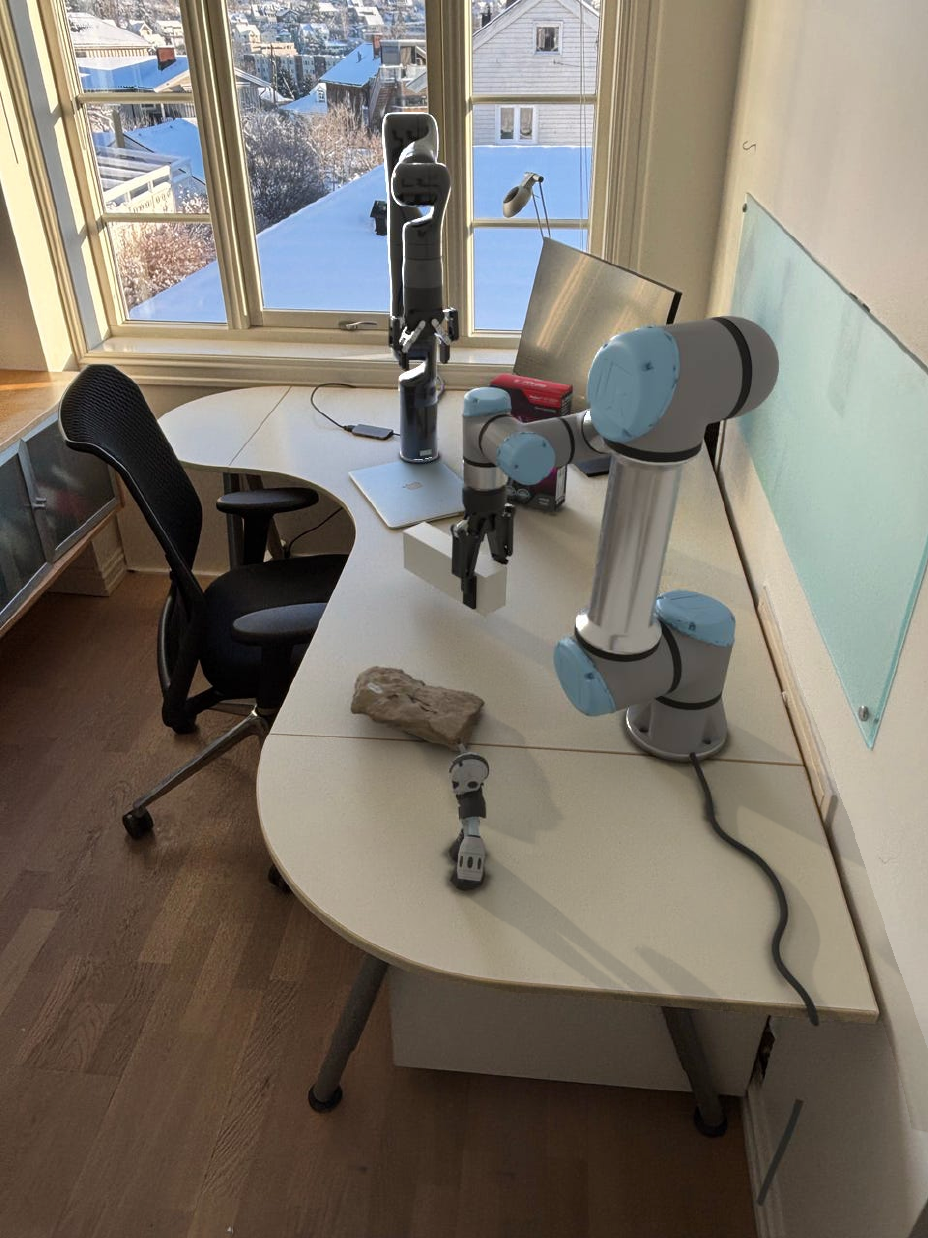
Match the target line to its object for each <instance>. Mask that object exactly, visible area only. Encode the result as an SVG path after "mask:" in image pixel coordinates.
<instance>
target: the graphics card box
mask: <svg viewBox="0 0 928 1238" xmlns="http://www.w3.org/2000/svg"><path fill="white" fill-rule="evenodd" d="M489 387H492V388H498V389H502V390H504V391H506V392H507V393H508V394H509V396H510V400H511V407H512V409H511V413H510V414H511V415H512V416H513V417H514V418H516V419H517V420H519V421H520V422H521V423H529V422H534V421H540V420H545V419H551V418H556V417H563V416H567V415H572V407H573V405H572V403H573V392H574V387H573V384H566V383H565V384H563V383H559V382H553V381H547V380H543V379H537V378H532V377H527V376H521V375H515V374H510V373H505V372H501V373H500V374H498V375H497V376H496V377H494V378H493V379H492V381H491V382H490V383H489ZM567 479H568V465H566V466H561V467H556V468H553V469H552V470H551V472H550V474H549V475H548V476H547V477H545V478H543V479H542V480H541V481H540V482H539V483H537V484H533V485H524V484H521V483H519V482H517V481H516V480H514V479H512V478H511V477H508V481H507V502H510V503H515V504H519V505H522V506H527V507H531V508H534V509H538V510H539V509H540V510H543V511H548V512H552V513H555V512H556V511H557V510H558V509H559V508H560V507H561V506H562V505H563V504H564V503H565V502H566V493H567V482H568V481H567Z"/></svg>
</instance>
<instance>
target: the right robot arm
mask: <svg viewBox="0 0 928 1238" xmlns="http://www.w3.org/2000/svg"><path fill="white" fill-rule="evenodd" d="M779 372H780V359H779V354H778V349H777V347H776V344H775V342H774V340H773V338H772V337H771V335H770V334H769V332H767V330H765V328H763V327H761V325H760V324H757V323H756V322H754V321H753V320H750V319H748V318H744V317H741V316H733V315H721V316H714V317H710V318H703V319H698V320H689V321H683V322H675V323H670V324H669V323H668V324H662V325H655V324H653V325H652V324H651V325H645V326H639V327H637V328H635V329H634V330H629V331H624V332H620V333H618V334H616V335H614V336H612V337H611V338H610V339H609V340H608V341H606V342H605V343H604V344H603V345H601V347H600V349H599V350H598V351H597V353H596V355H595V356H594V358H593V360H592V363H591V366H590V369H589V372H588V376H587V383H586V403H587V404H588V405H590V408H588V409H586V410H583V411H581V412H576V413H573V414H572V413H571V415H567V416H563V417H556V418H551V419H545V420H540V421H534V422H529V423H521V422H520V421H519V420H517V419H516V418H514V417H513V416H512V415H511V414H510V413H511V409H512V407H511V400H510V396H509V394H508V393H507V392H506V391H504V390H502V389H498V388H492V387H490V386H483V387H477V388H473V389H470V390H469V391H468V392H466V393H465V395H464V397H463V407H462V414H461V418H462V473H461V475H462V476H461V477H462V481H463V482H462V483H461V501H462V505H463V508H464V513H463V516H462V521H460V523H458V524H457V525H456V524H455V523H453V524H451V525H450V527H449V530H450V535H451V537H452V569H451V573H452V574H453V575H455V576H456V577H458V578H460V579H461V591H462V592H463V605H464V606H466V607H467V606H468V607H467V608H469V609H471V610H472V609H473V611H474V609H476V596H477V577H476V576H474V571H475V567H476V562H477V558H478V554H479V552H480V549H481V544H482V543H483V542H484V541H485V537H486V539H487V542H488V543H487V544H488V548H489V552H490V558H491V559H493V560H495V561H497V562H499V563H500V564H502V565H504V566H507V565H508V564H509V562H510V560H509V559H507V558H508V557H509V558H510V557H512V556H513V555H514V528H515V527H514V525H515V523H514V522H515V520H514V519H515V516H516V511H517V507H516V506H515V505H513V504H512V503H509V502H508V501H507V481H508V477H511V478H512V479H514V480H516V481H517V482H519V483H521V484H524V485H533V484H537V483H539V482H540V481H541V480H542V479H543V478H545V477H547V476H548V475H549V474H550V472H551V470H552V469H553V468H556V467H561V466H566V465H567V466H568V465H573V464H578V463H584V462H589V461H595V460H603V459H607V458H610V465H609V472H608V479H607V483H606V493H605V497H604V498H605V499H604V503H603V504H604V505H603V511H602V518H601V525H600V532H599V539H598V544H597V545H598V546H597V552H596V557H595V566H594V573H593V579H592V585H591V591H590V592H591V593H590V597H589V598H590V599H589V604H587V605H586V606H584V607H582V608H581V609H580V610H579V611H578V613H577V615H576V618H575V623H574V629H573V634H572V635H571V636H570V637H569V636H566V637H563V638H562V639H561V640H558V641H557V642H556V643H555V645H554V648H553V664H554V670H555V673H556V676H557V679H558V682H559V684H560V686H561V689H562V690H563V692H564V694H565V696H566V697H567V700H568V701H569V702H570V703H571V705H572V706H573V707H574V708H575V709H576V710H577V711H578V712H580V713H581V714H582V715H584V716H587V717H594V718H596V717H600V716H603V715H608V714H611V715H612V714H615V713H616V712H618V711H622V710H624V709H627V711H626V719H625V728H626V732H627V734H628V736H629V738H630V739H631V741H632V742H634V744H636V745H637V746H638V747H639V748H640V749H641V750H643V751H645V752H646V753H648V754H650V755H651V756H654V757H656V758H659V759H662V760H666V761H670V762H675V763H692V765H693V768H694V770H695V773H696V775H697V778H698V781H699V784H701V788H702V790H703V794H704V796H705V804H706V812H707V817H708V821H709V823H710V825H711V827H712V829H713V830H714V831H715V833H716V834H717V835H718V836H719V837H720V838H721V839H722V840H723V841H724V842H726V843H727V844H728V845H730V846H732V847H733V848H735V849H737V850H738V851H740V852H741V853H743V854H745V855H746V856H747V857H749V858H750V859H752V860H753V861H754V862H755V863H756V864H757V865H758V866H759V867H760V869H762V870H763V872H764V873H765V874H766V876H767V877H768V878H769V880H770V882H771V884H772V885H773V887H774V890H775V892H776V896H777V898H778V902H779V906H780V908H779V909H780V917H779V921H778V923H777V927H776V929H775V931H774V933H773V937H772V941H771V955H772V959H773V961H774V964H775V966H776V968H777V970H778V971H779V973H780V974H781V975H782V977H783V978H784V979H785V980H786V981H787V982H788V984H789V985H790V986H791V987H792V988H793V989H794V990H795V991H796V993H797V994H798V995H799V997H800V998H801V999H802V1001H803V1003H804V1005H805V1007H806V1010H807V1012H808V1016H809V1021H810V1024H811V1025H812V1026H814V1027H816V1028H817V1027H819V1026H820V1021H819V1016H818V1012H817V1009H816V1006H815V1004H814V1002H813V1000H812V997H811V996H810V995H809V993H808V991H807V990H806V989H805V988H804V987H803V985H802V984H801V983H800V982H799V981H798V980H797V978H796V977H795V976H794V975H793V974H792V973H791V972H790V971H789V970H788V968H787V967H786V965H785V963H784V962H783V959H782V957H781V951H780V947H781V940H782V937H783V934H784V932H785V929H786V927H787V924H788V920H789V907H788V902H787V897H786V894H785V892H784V889H783V886H782V884H781V882H780V880H779V879H778V877H777V875H776V874H775V872H774V871H773V870H772V868H771V867H770V866H769V864H768V863H767V862H766V861H765V860H764V859H763V858H762V857H761V856H760V855H759V854H758V853H756V852H755V851H754V850H752V849H750V847H748V846H746V845H744V844H742V843H741V842H739V841H738V840H736V839H734V838H733V837H732V836H731V835H729V834H728V833H727V832H726V831H724V830H723V829H722V827H721V826H720V825H719V822H718V821H717V818H716V816H715V810H714V802H713V796H712V792H711V790H710V787H709V784H708V782H707V780H706V777H705V774H704V772H703V770H702V767H701V765H700V763H699V762H700V761H703V760H706V759H709V758H711V757H714V755H716V754H718V752H720V751H721V750H722V748H723V747H724V744H725V743H726V740H727V739H726V738H727V733H728V721H727V716H726V712H725V708H724V707H725V706H724V701H723V692H724V686H725V682H726V678H727V674H728V669H729V664H730V661H731V655H732V652H733V647H734V644H735V642H736V637H735V632H736V627H737V626H736V625H737V624H736V617H735V615H734V614H733V612H732V610H731V609H730V608H729V607H728V606H727V605H726V604H724V603H723V602H722V601H720V600H719V599H717V598H715V597H712V596H710V595H708V594H705V593H702V592H698V591H695V590H688V589H673V590H668V591H665V592H662V593H661V594H659V591H660V585H661V581H662V576H663V571H664V566H665V561H666V557H667V551H668V547H669V541H670V537H671V532H672V527H673V522H674V517H675V514H676V513H675V512H676V506H677V502H678V497H679V493H680V489H681V482H682V477H683V473H684V467H685V464H687V463H689V462H691V461H692V460H694V459H696V458H698V456H699V455H700V453H701V452H702V446H703V442H704V438H705V434H706V429H707V426H708V425H710V424H715V423H719V422H722V421H727V420H732V419H734V418H735V419H736V418H739V417H742V416H744V415H746V414H748V413H751V412H753V411H754V410H756V409H757V408H759V407H760V406H761V405H762V404H763V403H764V402H765V401H766V400H767V399H768V397H769V396H770V395H771V393H772V392H773V390H774V388H775V386H776V384H777V381H778V376H779ZM804 1102H805V1101H804V1100H802V1099H798V1098H795V1100H794V1104H793V1106H792V1110H791V1112H790V1116H789V1118H788V1122H787V1124H786V1127H785V1129H784V1131H783V1135H782V1137H781V1139H780V1142H779V1144H778V1146H777V1148H776V1151H775V1153H774V1156H773V1158H772V1161H771V1163H770V1165H769V1168H768V1170H767V1172H766V1175H765V1177H764V1180H763V1182H762V1185H761V1188H760V1190H759V1193H758V1196H757V1198H756V1204H757V1205H758V1206H759V1207H762V1206H764V1203H765V1201H766V1198H767V1195H768V1192H769V1190H770V1188H771V1185H772V1182H773V1180H774V1178H775V1175H776V1173H777V1172H778V1171H777V1170H778V1169H779V1166H780V1164H781V1162H782V1159H783V1157H784V1155H785V1153H786V1150H787V1148H788V1146H789V1144H790V1141H791V1139H792V1136H793V1133H794V1131H795V1128H796V1126H797V1123H798V1120H799V1118H800V1114H801V1111H802V1108H803V1105H804Z"/></svg>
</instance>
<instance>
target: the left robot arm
mask: <svg viewBox="0 0 928 1238" xmlns="http://www.w3.org/2000/svg"><path fill="white" fill-rule="evenodd" d="M382 148H383V159H384V170H385V182H386V183H385V184H386V193H387V195H386V196H387V246H388V247H387V248H388V264H389V278H390V316H389V317H388V333H387V334H388V337H387V338H388V339H387V341H388V342H387V346H388V347H389V348H390V351H391V355H392V357H393V359H394V360H395V361H398V366H399V367H400V368H401V370H403V371H404V372H403V373H402V374H400V376H399V377H398V403H399V404H398V409H399V411H398V412H399V436H400V437H399V439H400V440H399V443H400V444H399V445H400V453H399V454H400V458H401V459H402V460H404V461H406V462H410V463H414V464H415V463H416V464H423V463H430V462H432V461H435V460H436V459H438V457H439V442H438V441H439V424H438V423H439V419H438V418H439V415H438V414H439V413H438V408H439V407H438V404H439V403H438V400H439V399H440V398H441V396H442V395H443V393H444V391H445V380H444V379H443V377H442V376H441V375H440V374H439V372H438V353H439V362H440V364H442V365H448V363H449V361H450V359H451V344H452V343H453V342H455V341H459V339H460V325H459V311H458V310H457V309H456V308H453V307H451V306H448V307H447V308H446V309H444V308H443V306H444V264H443V256H442V255H443V250H442V249H443V245H442V244H443V243H442V241H443V236H442V235H443V225H444V219H445V214H446V210H447V207H448V202H449V199H450V195H451V191H452V184H453V183H452V182H453V180H452V176H451V172H450V170H449V169H448V167H447V166H446V165H445V164H444V163H439V162H437V159H438V153H439V152H438V151H439V132H438V125H437V121H436V119H435V118H434V117H433V116H432V115H431V114H429V113H425V112H390V113H387V114H385V116H384V118H383V122H382ZM420 208H431V209H430V210H429V213H428V214H427V215H426V216H424V215H423V213H422V211H421V210H420ZM444 320H446V324H447V332H446V331H445V330H444V328H443V327H442V325H441V324H442V323H443V322H444ZM438 349H439V352H438ZM410 362H422V363H421V364H420V365H419V366H417V367H415V368H413V369H410ZM438 379H439V382H440V385H441V388H440V390H439V392H438ZM429 457H432V458H429ZM425 458H429V459H425ZM414 459H423V460H414Z"/></svg>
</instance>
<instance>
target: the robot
mask: <svg viewBox="0 0 928 1238" xmlns="http://www.w3.org/2000/svg"><path fill="white" fill-rule="evenodd" d="M457 743H458V746H459V748H460V751H459V752H460V753H461V754H460V755H458V756H457V757H455V758H454V759H453V760H452V761H451V763H450V764H449V767H448V773H449V774H448V775H449V779H450V780H451V791H452V793H453V794H454V795H455V796H454V797H455V799H456V801H457V803H458V805H459V806H458V807H457V808H458V809H457V810H458V820H459V821H460V823H461V825H462V826H461V830H460V831H459V833H458V836H457V838H456V839H455V841H454V842H453V843H452V845H451V846H450V848H449V850H448V853H449V855H450V857H451V859H452V861H455V862H456V864H455V866H454V868H453V871H452V873H451V876H450V882H451V883H452V884H453V885H454V887H456V888H457V889H459V890H464V891H467V890H468V891H469V890H473V889H475V888H477V887H480V886H482V885H483V883H484V880H485V877H486V873H485V859H486V846H485V842H484V838H482V837H481V835H480V830H479V829H480V824H481V822H480V821H481V820H480V818H482V819H487V806H486V805H487V803H486V800H485V797H484V794H483V793H484V792H483V786H484V783H485V780H487V779H488V777H489V775H490V766H489V763H488V761H487V759H486V758H484V756H482V755H480V754H478V753H476V752H473V751H468V750H467V749H466V746H465V747H464V745H463V744H462V742H461V740H460V739H458V740H457Z"/></svg>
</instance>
